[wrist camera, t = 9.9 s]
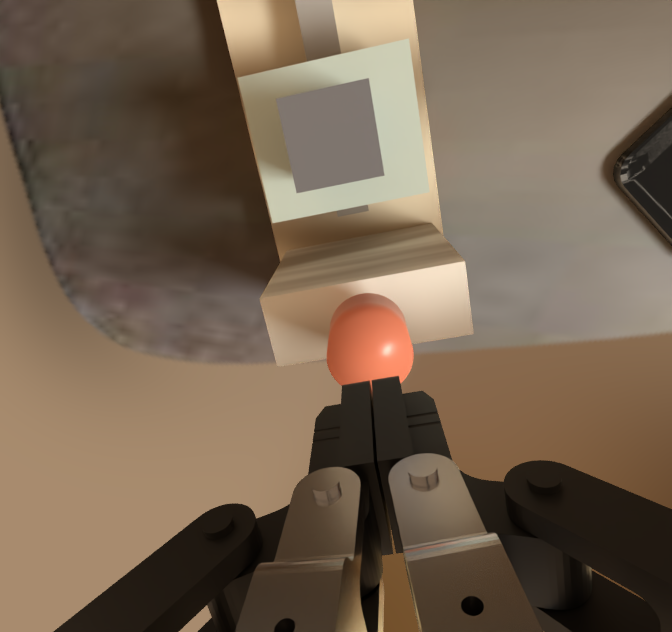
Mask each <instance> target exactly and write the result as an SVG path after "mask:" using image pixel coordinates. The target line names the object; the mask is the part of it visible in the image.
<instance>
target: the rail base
mask: <svg viewBox="0 0 672 632" xmlns="http://www.w3.org/2000/svg"><path fill="white" fill-rule="evenodd" d="M217 3H218V7H219V12H220V16H221V20H222V24H223V28H224V32H225V36H226V40H227V45H228V49H229V53H230V57H231V61H232V65H233V69H234V73H235V77H236V82H237V86H238V90H239V94H240V98H241V102H242V106H243V110H244V114H245V119H246V123H247V127H248V131H249V135H250V139H251V143H252V147H253V151H254V156H255V160H256V164H257V168H258V172H259V176H260V180H261V184H262V188H263V193H264V197H265V201H266V205H267V209H268V213H269V217H270V221H271V225H272V230H273V234H274V238H275V242H276V246H277V250H278V254H279V258H280V264H279V266H278V267H277V269H276V271H275V273H274V274H273V276H272V278H271V280H270V281H269V283H268V285H267V287H266V288H265V290H264V292H263V294H262V295H261V297H260V302H261V306H262V310H263V314H264V317H265V321H266V325H267V329H268V333H269V336H270V340H271V344H272V348H273V351H274V355H275V359H276V363H277V367H280V366H286V365H292V364H298V363H304V362H310V361H316V360H322V359H327V346H328V338H329V330H330V323H331V319H332V316H333V314H334V312H335V310H336V309H337V308H338V306H339V305H340V304H341V303H342V302H344V301H345V300H346V299H348V298H350V297H352V296H355V295H358V294H363V293H374V294H379V295H382V296H385V297H387V298H389V299H390V300H392V301H393V302H394V303H395V304H396V305H397V306H398V307H399V308H400V310H401V311H402V313H403V315H404V318H405V321H406V325H407V328H408V332H409V336H410V340H411V343H412V344H416V343H422V342H428V341H434V340H440V339H446V338H452V337H458V336H464V335H470V334H473V326H472V317H471V309H470V300H469V291H468V283H467V274H466V266H465V261H464V259H463V258H462V257H461V256H460V255H459V254H458V252H457V251H456V250H455V249H454V248H453V247H452V245H451V244H450V243H449V242H448V241H447V240H446V239H445V237H444V236H443V229H442V222H441V214H440V206H439V198H438V191H437V183H436V175H435V167H434V160H433V152H432V144H431V137H430V129H429V121H428V113H427V106H426V98H425V90H424V82H423V75H422V67H421V59H420V52H419V44H418V36H417V28H416V21H415V13H414V5H413V0H217ZM404 39H409V43H410V50H411V57H412V65H413V72H414V80H415V87H416V95H417V102H418V109H419V117H420V124H421V132H422V139H423V146H424V154H425V161H426V169H427V176H428V184H429V191H430V192H428V193H423V194H418V195H413V196H408V197H403V198H398V199H393V200H388V201H383V202H378V203H373V204H368V205H363V206H358V207H353V208H348V209H343V210H338V211H333V212H327V213H322V214H317V215H312V216H307V217H302V218H297V219H292V220H287V221H282V222H277V223H272V219H271V215H270V211H269V207H268V202H267V198H266V194H265V190H264V186H263V182H262V178H261V174H260V169H259V165H258V161H257V157H256V153H255V149H254V145H253V141H252V136H251V132H250V128H249V124H248V120H247V116H246V112H245V107H244V103H243V99H242V95H241V91H240V87H239V83H238V79H237V78H238V77H243V76H247V75H252V74H256V73H260V72H265V71H269V70H273V69H278V68H282V67H286V66H291V65H295V64H300V63H304V62H308V61H313V60H317V59H321V58H326V57H330V56H334V55H339V54H343V53H347V52H352V51H356V50H361V49H365V48H369V47H374V46H378V45H382V44H387V43H391V42H395V41H400V40H404Z"/></svg>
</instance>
